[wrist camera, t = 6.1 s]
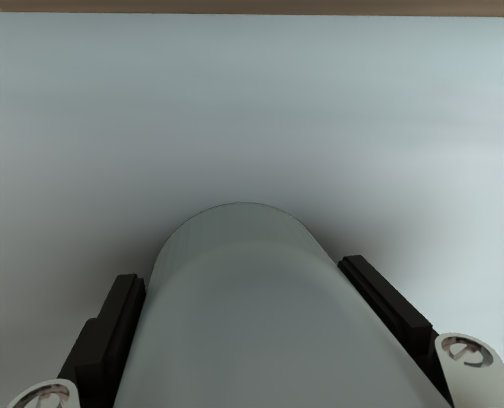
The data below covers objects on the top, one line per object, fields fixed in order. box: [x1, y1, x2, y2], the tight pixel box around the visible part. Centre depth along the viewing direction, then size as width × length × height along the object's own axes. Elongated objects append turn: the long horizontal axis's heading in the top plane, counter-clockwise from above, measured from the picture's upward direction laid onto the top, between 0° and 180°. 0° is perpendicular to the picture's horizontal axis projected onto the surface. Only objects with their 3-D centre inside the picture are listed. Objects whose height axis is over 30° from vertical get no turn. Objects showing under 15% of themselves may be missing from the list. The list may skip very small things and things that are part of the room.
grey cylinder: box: [113, 203, 451, 408], centre depth 9 cm, size 6×6×8 cm
